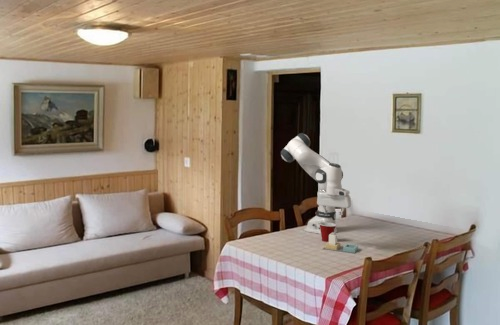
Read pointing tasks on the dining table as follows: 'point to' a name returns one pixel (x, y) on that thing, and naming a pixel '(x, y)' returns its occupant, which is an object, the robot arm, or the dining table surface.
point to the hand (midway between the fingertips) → (333, 214)
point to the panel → (342, 248)
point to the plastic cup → (326, 230)
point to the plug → (333, 239)
